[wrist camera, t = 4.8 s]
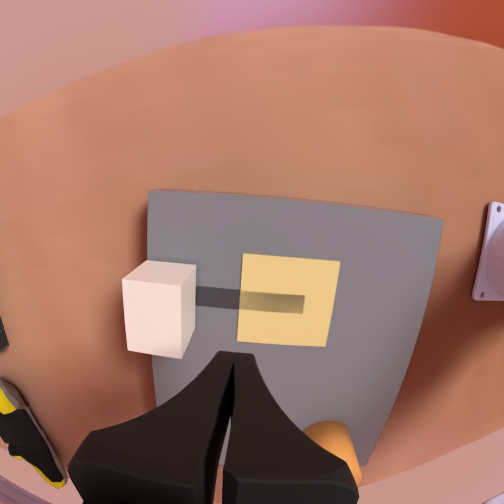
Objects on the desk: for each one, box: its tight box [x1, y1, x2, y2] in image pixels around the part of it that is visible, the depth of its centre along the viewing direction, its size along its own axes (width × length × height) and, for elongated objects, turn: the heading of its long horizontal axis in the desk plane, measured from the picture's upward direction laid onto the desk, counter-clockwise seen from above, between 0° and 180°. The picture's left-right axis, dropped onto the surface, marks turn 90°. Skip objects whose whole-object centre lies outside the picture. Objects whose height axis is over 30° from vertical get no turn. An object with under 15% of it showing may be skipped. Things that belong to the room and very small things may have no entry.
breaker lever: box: [122, 260, 196, 359], centre depth 16 cm, size 3×4×4 cm
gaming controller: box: [0, 379, 68, 489], centre depth 23 cm, size 15×6×10 cm
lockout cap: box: [303, 420, 362, 486], centre depth 18 cm, size 4×4×6 cm
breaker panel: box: [147, 189, 443, 466], centre depth 20 cm, size 18×22×4 cm
